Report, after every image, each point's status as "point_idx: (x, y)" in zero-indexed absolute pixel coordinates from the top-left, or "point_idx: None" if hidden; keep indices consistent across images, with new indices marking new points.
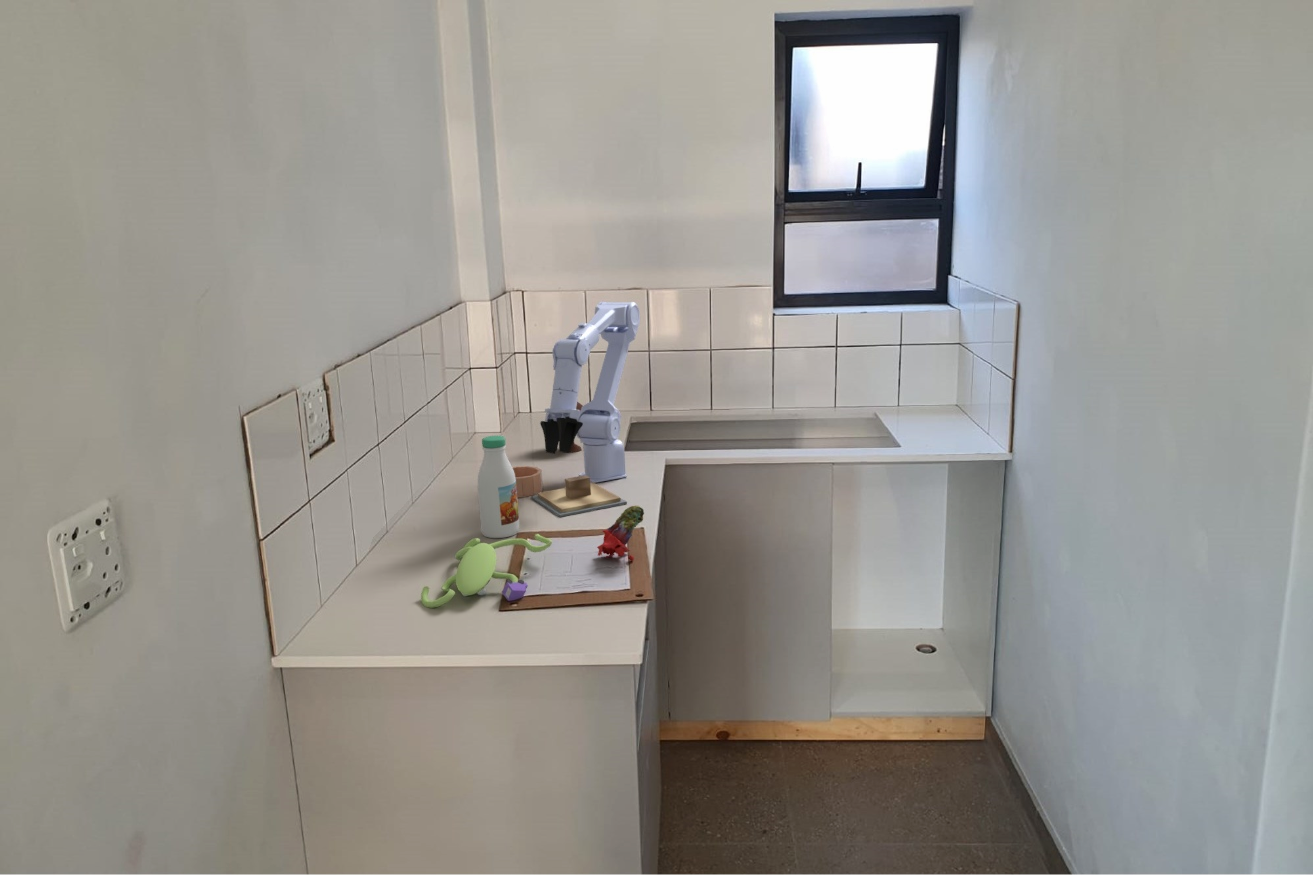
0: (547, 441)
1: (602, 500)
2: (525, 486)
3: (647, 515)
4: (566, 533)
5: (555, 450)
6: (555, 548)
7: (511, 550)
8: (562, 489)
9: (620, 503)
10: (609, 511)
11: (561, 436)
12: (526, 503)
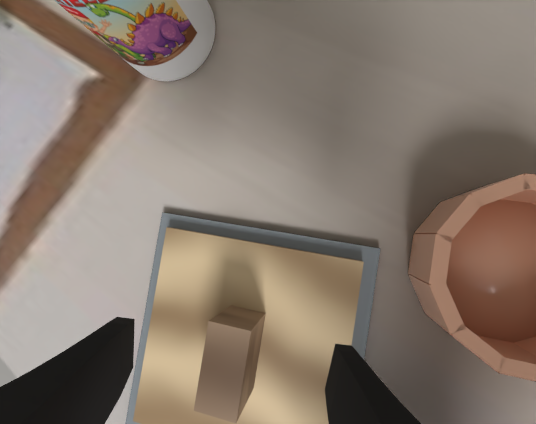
0: (358, 397)
1: (150, 364)
2: (422, 245)
3: None
4: (65, 161)
5: (329, 406)
6: (14, 95)
7: (65, 14)
8: None
9: (129, 402)
10: None
11: (29, 373)
12: (342, 207)
